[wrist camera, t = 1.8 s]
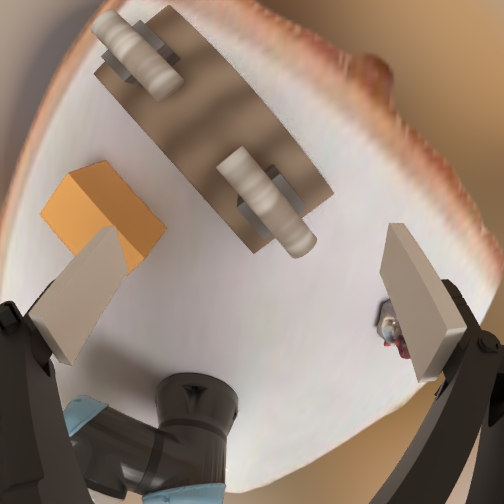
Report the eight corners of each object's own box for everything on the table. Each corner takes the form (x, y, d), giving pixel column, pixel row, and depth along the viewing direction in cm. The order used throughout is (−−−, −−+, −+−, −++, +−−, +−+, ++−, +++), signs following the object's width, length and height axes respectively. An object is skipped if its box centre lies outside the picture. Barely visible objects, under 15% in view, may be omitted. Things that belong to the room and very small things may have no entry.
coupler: (166, 228, 37) (144, 258, 29) (135, 257, 39) (109, 291, 30) (106, 160, 34) (68, 172, 25) (78, 193, 35) (39, 214, 27)
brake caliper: (374, 293, 39) (445, 326, 31) (405, 270, 45) (465, 295, 37) (361, 351, 43) (419, 384, 35) (392, 323, 49) (444, 349, 41)
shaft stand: (330, 189, 36) (359, 214, 26) (253, 247, 38) (255, 290, 29) (172, 10, 26) (147, -25, 16) (100, 75, 29) (54, 64, 19)
